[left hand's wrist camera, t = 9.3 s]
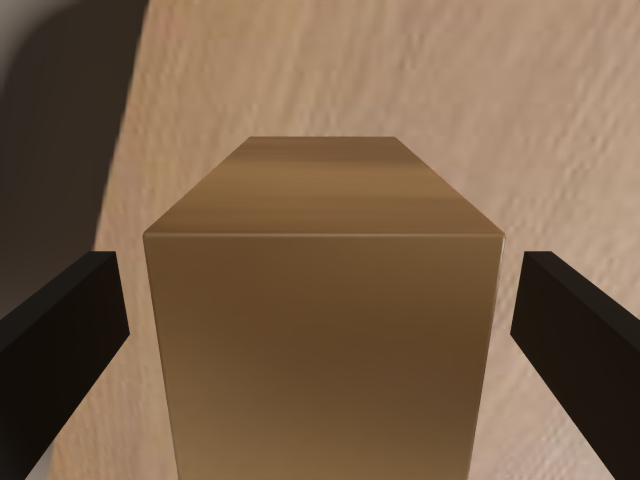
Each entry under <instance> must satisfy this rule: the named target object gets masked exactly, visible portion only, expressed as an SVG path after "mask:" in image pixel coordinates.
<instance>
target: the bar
mask: <svg viewBox="0 0 640 480" xmlns="http://www.w3.org/2000/svg"><path fill="white" fill-rule="evenodd" d="M505 239H506V236H505V233H504V232H503V231H502V230H500V229H499V228H498V227H497V226H496V225H495V224H494V223H493V222H491V221H490V220H489V219H488V218H487V217H486V216H485V215H483V214H482V213H481V212H480V211H479V210H478V209H477V208H475V207H474V206H473V205H472V204H471V203H470V202H469V201H467V200H466V199H465V198H464V197H463V196H462V195H461V194H460V193H458V192H457V191H456V190H455V189H454V188H453V187H452V186H450V185H449V184H448V183H447V182H446V181H445V180H444V179H442V178H441V177H440V176H439V175H438V174H437V173H436V172H434V171H433V170H432V169H431V168H430V167H429V166H428V165H426V164H425V163H424V162H423V161H422V160H421V159H420V158H419V157H417V156H416V155H415V154H414V153H413V152H412V151H411V150H409V149H408V148H407V147H406V146H405V145H404V144H403V143H401V142H400V141H399V140H398V139H397V138H396V137H249V138H248V139H247V140H246V141H245V142H244V143H242V144H241V145H240V146H239V147H238V148H237V149H236V150H235V151H234V152H232V153H231V154H230V155H229V156H228V157H227V158H226V159H225V160H224V161H223V162H221V163H220V164H219V165H218V166H217V167H216V168H215V169H214V170H213V171H211V172H210V173H209V174H208V175H207V176H206V177H205V178H204V179H203V180H201V181H200V182H199V183H198V184H197V185H196V186H195V187H194V188H193V189H191V190H190V191H189V192H188V193H187V194H186V195H185V196H184V197H183V198H181V199H180V200H179V201H178V202H177V203H176V204H175V205H174V206H173V207H172V208H170V209H169V210H168V211H167V212H166V213H165V214H164V215H163V216H162V217H160V218H159V219H158V220H157V221H156V222H155V223H154V224H153V225H152V226H150V227H149V228H148V229H147V230H146V231H145V232H144V233H143V243H144V250H145V257H146V264H147V270H148V277H149V284H150V290H151V297H152V304H153V311H154V317H155V324H156V331H157V338H158V344H159V351H160V358H161V364H162V371H163V378H164V385H165V391H166V398H167V405H168V412H169V418H170V425H171V432H172V438H173V445H174V452H175V459H176V465H177V472H178V479H179V480H468V475H469V469H470V463H471V456H472V450H473V444H474V437H475V431H476V424H477V418H478V412H479V405H480V399H481V392H482V386H483V380H484V373H485V367H486V361H487V354H488V348H489V341H490V335H491V329H492V322H493V316H494V310H495V303H496V297H497V290H498V284H499V278H500V271H501V265H502V259H503V252H504V246H505Z"/></svg>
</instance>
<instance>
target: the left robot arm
mask: <svg viewBox="0 0 640 480" xmlns="http://www.w3.org/2000/svg"><path fill="white" fill-rule="evenodd" d="M129 335H130V332H129V326H128V320H127V314H126V309H125V303H124V297H123V292H122V286H121V280H120V274H119V269H118V263H117V257H116V251H89V252H87V253H86V254H85V255H83V256H82V257H81V258H80V259H78V260H77V261H76V262H74V263H73V264H72V265H71V266H69V267H68V268H67V269H65V270H64V271H63V272H62V273H60V274H59V275H58V276H56V277H55V278H54V279H53V280H51V281H50V282H49V283H47V284H46V285H45V286H44V287H42V288H41V289H40V290H38V291H37V292H36V293H35V294H33V295H32V296H31V297H29V298H28V299H27V300H26V301H24V302H23V303H22V304H20V305H19V306H18V307H17V308H15V309H14V310H13V311H11V312H10V313H9V314H8V315H6V316H5V317H4V318H2V319H1V320H0V480H25V479H26V477H27V476H28V474H29V473H30V472H31V470H32V469H33V467H34V466H35V465H36V463H37V462H38V461H39V459H40V458H41V456H42V455H43V454H44V452H45V451H46V450H47V448H48V447H49V445H50V444H51V443H52V441H53V440H54V439H55V437H56V436H57V434H58V433H59V432H60V430H61V429H62V427H63V426H64V425H65V423H66V422H67V421H68V419H69V418H70V416H71V415H72V414H73V412H74V411H75V409H76V408H77V407H78V405H79V404H80V403H81V401H82V400H83V398H84V397H85V396H86V394H87V393H88V392H89V390H90V389H91V387H92V386H93V385H94V383H95V382H96V380H97V379H98V378H99V376H100V375H101V374H102V372H103V371H104V369H105V368H106V367H107V365H108V364H109V362H110V361H111V360H112V358H113V357H114V356H115V354H116V353H117V351H118V350H119V349H120V347H121V346H122V345H123V343H124V342H125V340H126V339H127V338H128V336H129ZM510 335H511V336H512V338H513V339H514V340H515V342H516V343H517V345H518V346H519V347H520V349H521V350H522V351H523V353H524V354H525V356H526V357H527V358H528V360H529V361H530V363H531V364H532V365H533V367H534V368H535V369H536V371H537V372H538V374H539V375H540V376H541V378H542V379H543V380H544V382H545V383H546V385H547V386H548V387H549V389H550V390H551V392H552V393H553V394H554V396H555V397H556V398H557V400H558V401H559V403H560V404H561V405H562V407H563V408H564V410H565V411H566V412H567V414H568V415H569V416H570V418H571V419H572V421H573V422H574V423H575V425H576V426H577V427H578V429H579V430H580V432H581V433H582V434H583V436H584V437H585V439H586V440H587V441H588V443H589V444H590V445H591V447H592V448H593V450H594V451H595V452H596V454H597V455H598V456H599V458H600V459H601V461H602V462H603V463H604V465H605V466H606V468H607V469H608V470H609V472H610V473H611V474H612V476H613V477H614V479H615V480H640V320H639V319H638V318H636V317H635V316H634V315H632V314H631V313H630V312H629V311H627V310H626V309H625V308H623V307H622V306H621V305H620V304H618V303H617V302H616V301H614V300H613V299H612V298H611V297H609V296H608V295H607V294H605V293H604V292H603V291H602V290H600V289H599V288H598V287H596V286H595V285H594V284H593V283H591V282H590V281H589V280H587V279H586V278H585V277H584V276H582V275H581V274H580V273H578V272H577V271H576V270H575V269H573V268H572V267H571V266H569V265H568V264H567V263H566V262H564V261H563V260H562V259H560V258H559V257H558V256H557V255H555V254H554V253H553V252H551V251H524V257H523V263H522V269H521V274H520V280H519V286H518V291H517V297H516V303H515V309H514V314H513V320H512V326H511V332H510Z"/></svg>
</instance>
